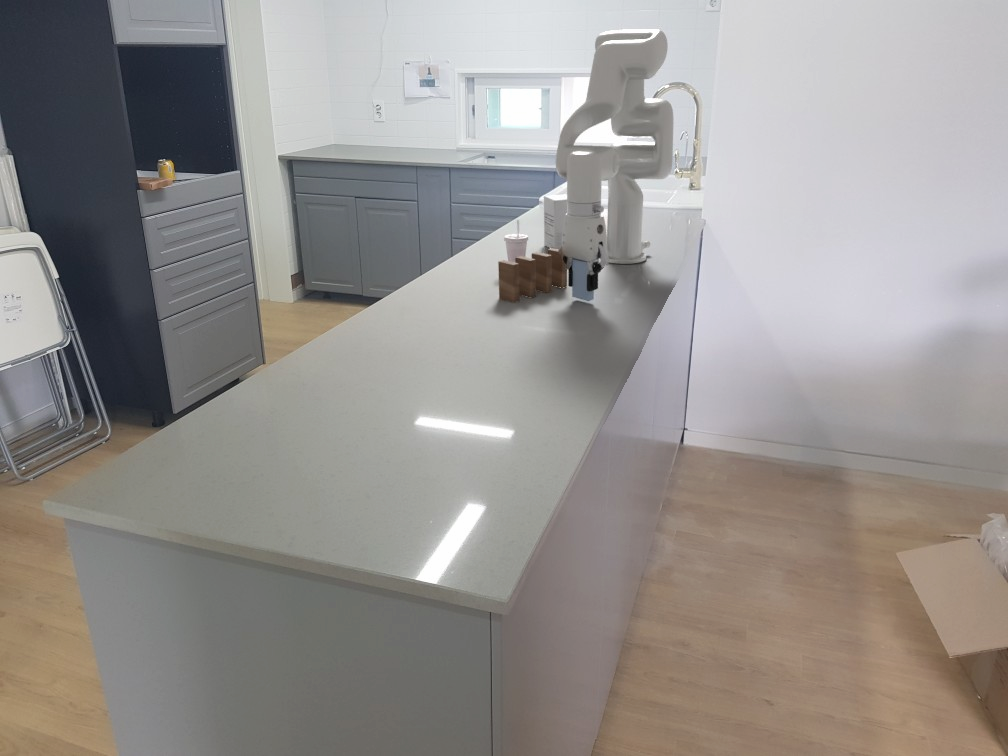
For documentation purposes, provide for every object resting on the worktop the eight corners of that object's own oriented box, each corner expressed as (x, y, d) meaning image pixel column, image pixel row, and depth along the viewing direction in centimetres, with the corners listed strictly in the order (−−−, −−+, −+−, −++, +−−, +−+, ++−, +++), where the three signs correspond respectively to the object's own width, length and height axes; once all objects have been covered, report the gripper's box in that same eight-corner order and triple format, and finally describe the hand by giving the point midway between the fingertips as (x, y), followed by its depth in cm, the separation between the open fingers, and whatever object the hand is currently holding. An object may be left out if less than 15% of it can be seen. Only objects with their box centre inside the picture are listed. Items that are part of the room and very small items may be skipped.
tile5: (504, 297, 187) (503, 260, 183) (519, 301, 183) (518, 263, 180) (499, 298, 186) (498, 261, 182) (513, 302, 182) (513, 265, 179)
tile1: (577, 295, 184) (577, 257, 180) (593, 299, 180) (594, 261, 177) (572, 296, 183) (572, 259, 179) (588, 301, 179) (589, 262, 176)
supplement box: (570, 242, 240) (571, 193, 234) (582, 248, 232) (583, 197, 226) (543, 245, 237) (543, 195, 231) (554, 251, 229) (554, 200, 224)
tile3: (537, 287, 194) (536, 252, 190) (551, 291, 190) (551, 255, 187) (531, 289, 193) (531, 253, 189) (546, 293, 189) (546, 256, 186)
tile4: (521, 292, 190) (520, 256, 187) (535, 296, 187) (535, 259, 184) (515, 293, 189) (515, 257, 186) (530, 297, 186) (530, 260, 182)
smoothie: (526, 275, 205) (525, 222, 199) (502, 275, 206) (501, 221, 200) (530, 269, 210) (530, 217, 205) (507, 268, 212) (506, 217, 206)
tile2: (552, 283, 197) (552, 248, 194) (566, 287, 194) (567, 251, 190) (547, 284, 196) (547, 249, 193) (562, 288, 193) (562, 252, 189)
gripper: (624, 210, 170) (622, 291, 177) (566, 201, 181) (566, 277, 189) (602, 216, 165) (600, 299, 173) (544, 206, 177) (545, 284, 184)
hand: (582, 287), depth 181 cm, fingers closed on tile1, 4 cm apart
